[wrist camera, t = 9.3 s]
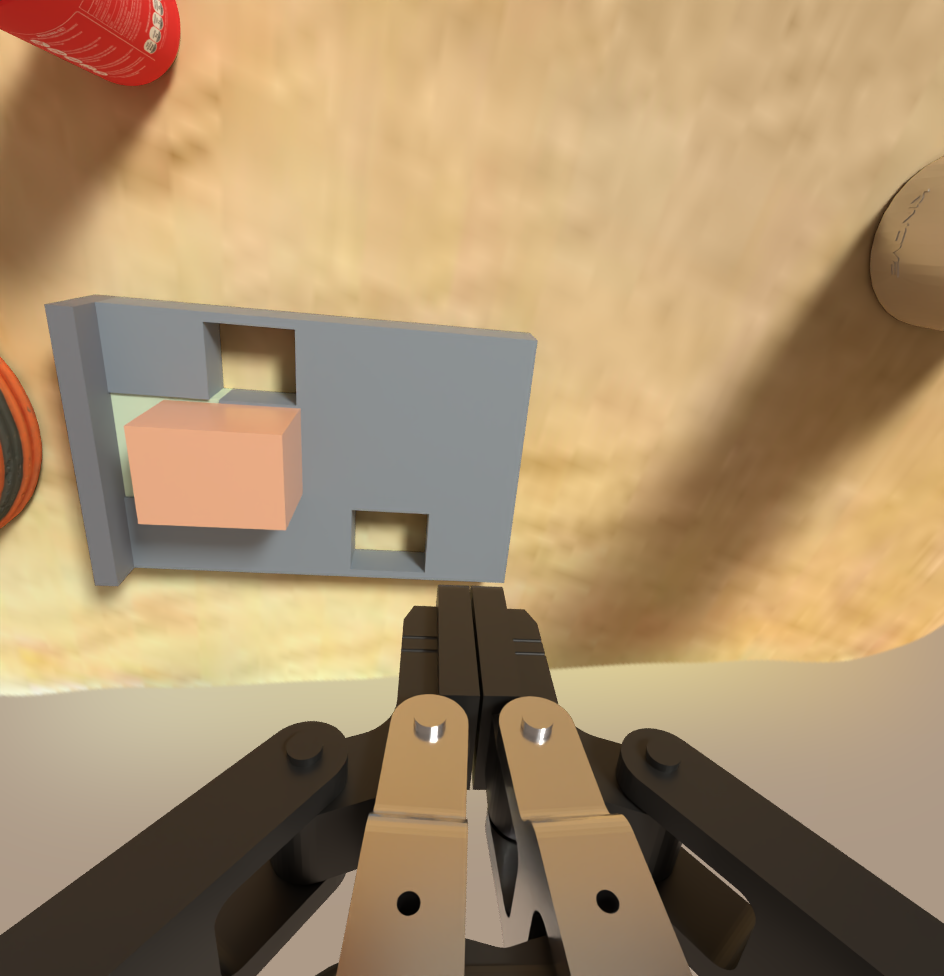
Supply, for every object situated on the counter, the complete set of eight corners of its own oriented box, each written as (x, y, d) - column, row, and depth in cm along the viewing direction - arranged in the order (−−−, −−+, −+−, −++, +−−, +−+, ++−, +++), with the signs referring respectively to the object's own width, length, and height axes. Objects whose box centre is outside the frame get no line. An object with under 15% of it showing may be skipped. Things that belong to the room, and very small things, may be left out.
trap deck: (529, 333, 33) (544, 347, 29) (499, 562, 39) (508, 601, 35) (94, 294, 31) (44, 304, 27) (131, 545, 37) (95, 585, 33)
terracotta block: (300, 408, 32) (282, 435, 27) (302, 493, 34) (285, 530, 29) (163, 399, 31) (123, 425, 27) (174, 487, 33) (138, 523, 29)
